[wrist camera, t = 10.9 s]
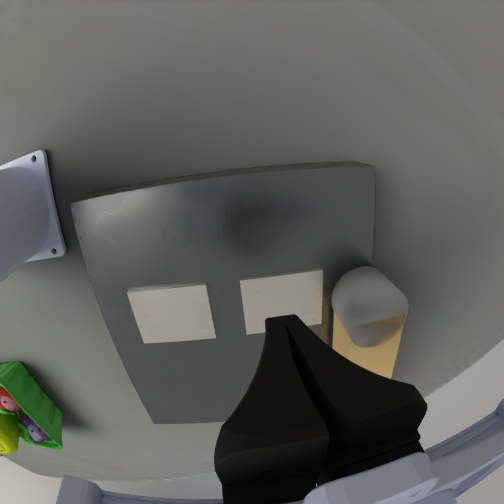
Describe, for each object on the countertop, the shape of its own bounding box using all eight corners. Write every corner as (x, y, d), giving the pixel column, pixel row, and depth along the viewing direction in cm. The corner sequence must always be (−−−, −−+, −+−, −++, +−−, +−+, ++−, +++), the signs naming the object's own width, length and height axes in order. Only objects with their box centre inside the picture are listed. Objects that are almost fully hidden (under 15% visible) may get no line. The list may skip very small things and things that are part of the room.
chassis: (158, 400, 25) (153, 427, 22) (89, 193, 17) (65, 205, 14) (345, 377, 26) (357, 402, 23) (360, 161, 18) (386, 167, 15)
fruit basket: (76, 420, 26) (53, 493, 16) (34, 417, 26) (9, 478, 16) (21, 350, 22) (-26, 426, 12) (-16, 355, 22) (-57, 415, 12)
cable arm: (331, 271, 17) (349, 297, 14) (388, 261, 17) (413, 282, 15) (322, 433, 24) (330, 457, 21) (360, 423, 24) (370, 445, 21)
